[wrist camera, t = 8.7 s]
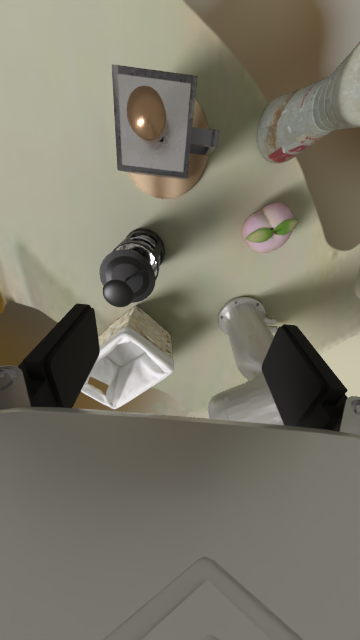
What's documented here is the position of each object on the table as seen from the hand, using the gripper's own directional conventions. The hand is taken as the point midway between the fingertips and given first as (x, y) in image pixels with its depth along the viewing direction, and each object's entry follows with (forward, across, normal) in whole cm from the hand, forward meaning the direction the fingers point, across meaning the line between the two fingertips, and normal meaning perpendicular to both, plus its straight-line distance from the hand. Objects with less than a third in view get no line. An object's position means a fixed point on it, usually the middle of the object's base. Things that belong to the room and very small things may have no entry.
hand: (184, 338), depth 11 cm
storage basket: (+40, +13, +34) cm, 54 cm away
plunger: (+37, +5, -12) cm, 40 cm away
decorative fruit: (+40, -16, -1) cm, 43 cm away
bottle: (+40, -15, -16) cm, 46 cm away
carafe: (+39, +4, -12) cm, 41 cm away
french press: (+40, +9, +7) cm, 42 cm away
